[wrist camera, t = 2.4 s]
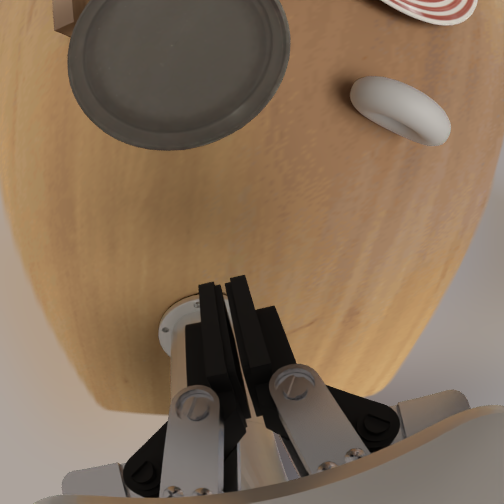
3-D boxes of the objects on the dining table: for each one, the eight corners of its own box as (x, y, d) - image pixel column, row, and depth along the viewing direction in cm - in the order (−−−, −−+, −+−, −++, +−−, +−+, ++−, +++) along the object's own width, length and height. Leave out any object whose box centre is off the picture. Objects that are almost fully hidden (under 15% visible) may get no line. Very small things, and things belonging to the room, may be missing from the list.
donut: (409, 114, 27) (474, 131, 19) (399, 140, 29) (462, 164, 20) (338, 70, 24) (400, 66, 16) (327, 100, 26) (385, 107, 17)
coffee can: (232, 131, 26) (268, 163, 14) (121, 121, 23) (56, 148, 11) (252, 28, 21) (308, -27, 9) (139, 17, 18) (94, -45, 6)
